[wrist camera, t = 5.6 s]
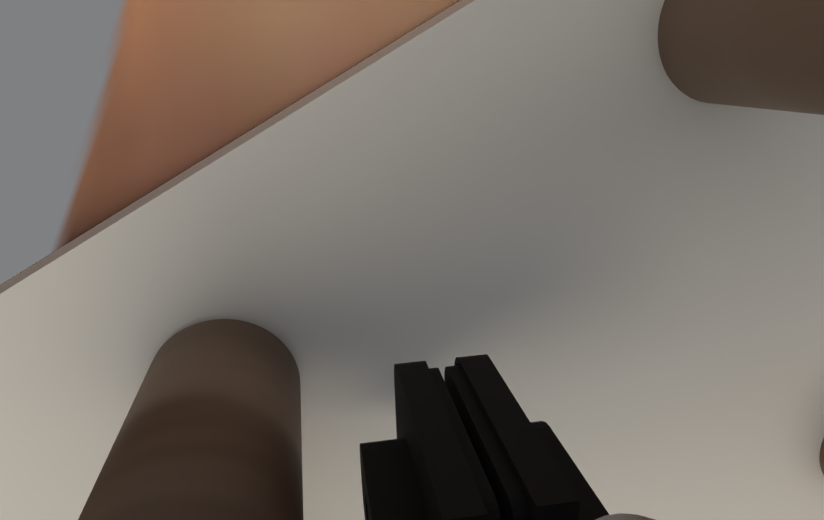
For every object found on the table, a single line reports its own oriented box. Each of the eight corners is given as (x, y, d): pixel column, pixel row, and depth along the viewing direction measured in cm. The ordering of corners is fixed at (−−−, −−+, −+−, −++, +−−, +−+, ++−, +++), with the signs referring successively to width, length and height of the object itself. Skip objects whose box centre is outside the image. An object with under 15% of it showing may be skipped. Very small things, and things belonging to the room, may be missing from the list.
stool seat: (725, -164, 14) (1304, -465, 6) (904, 413, 20) (1304, 644, 12) (-113, 355, 14) (-645, 741, 6) (323, 769, 20) (342, 1227, 12)
